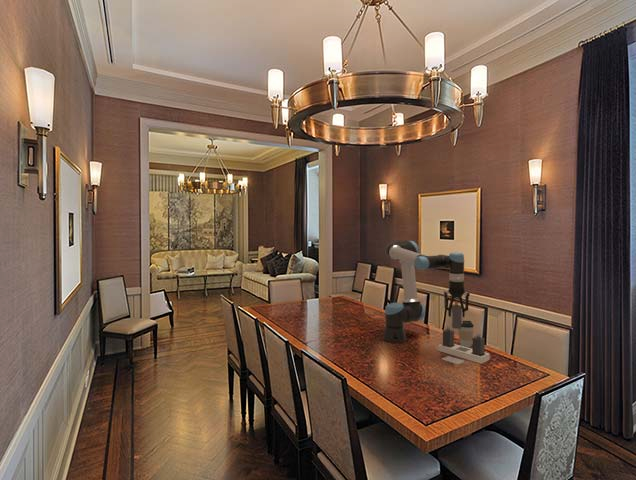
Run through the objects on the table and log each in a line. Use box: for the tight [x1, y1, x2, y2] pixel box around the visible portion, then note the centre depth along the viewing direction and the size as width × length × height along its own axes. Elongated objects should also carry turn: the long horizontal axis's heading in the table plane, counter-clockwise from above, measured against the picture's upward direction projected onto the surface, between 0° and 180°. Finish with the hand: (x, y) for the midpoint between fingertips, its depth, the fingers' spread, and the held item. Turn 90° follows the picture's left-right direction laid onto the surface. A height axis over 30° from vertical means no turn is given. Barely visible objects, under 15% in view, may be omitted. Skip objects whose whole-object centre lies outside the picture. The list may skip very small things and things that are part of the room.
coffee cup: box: [457, 320, 475, 348], centre depth 217 cm, size 9×9×15 cm
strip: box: [437, 325, 491, 365], centre depth 200 cm, size 26×9×15 cm, turn 39°
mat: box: [441, 355, 465, 365], centre depth 193 cm, size 10×7×1 cm
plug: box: [451, 300, 462, 330], centre depth 194 cm, size 4×4×14 cm
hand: (456, 322), depth 195 cm, fingers closed on plug, 4 cm apart
